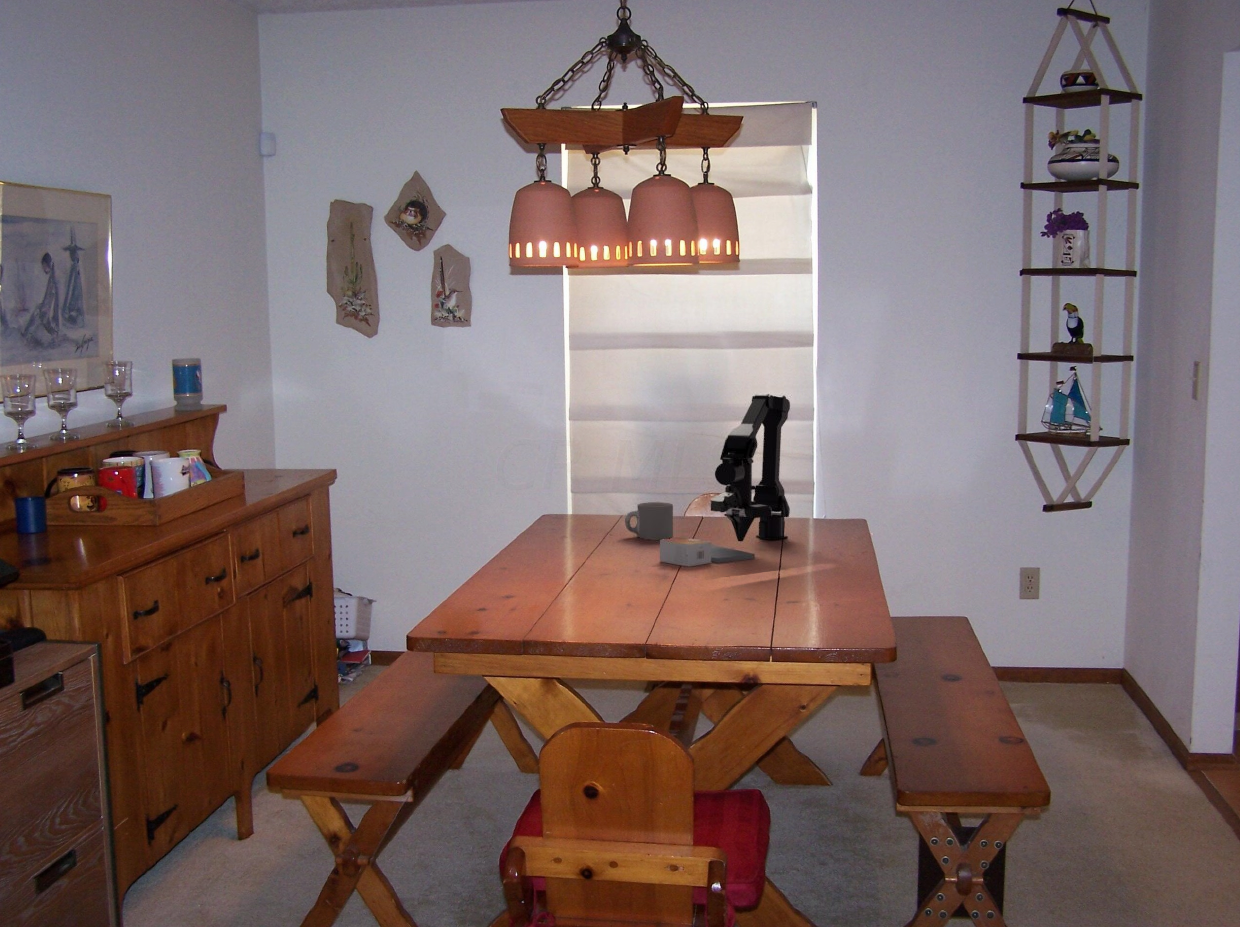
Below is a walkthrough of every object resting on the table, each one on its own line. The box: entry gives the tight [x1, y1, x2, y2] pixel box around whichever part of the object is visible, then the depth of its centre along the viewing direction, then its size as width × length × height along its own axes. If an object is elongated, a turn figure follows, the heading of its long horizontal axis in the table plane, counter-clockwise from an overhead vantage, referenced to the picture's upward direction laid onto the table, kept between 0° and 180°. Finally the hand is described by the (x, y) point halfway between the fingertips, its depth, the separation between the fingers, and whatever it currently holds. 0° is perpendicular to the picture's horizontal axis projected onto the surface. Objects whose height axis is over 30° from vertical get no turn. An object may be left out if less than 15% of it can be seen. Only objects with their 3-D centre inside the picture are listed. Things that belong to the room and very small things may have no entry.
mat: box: [711, 544, 756, 564], centre depth 298 cm, size 12×18×1 cm, turn 33°
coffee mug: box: [624, 501, 674, 541], centre depth 325 cm, size 13×10×10 cm
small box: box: [659, 536, 712, 567], centre depth 289 cm, size 8×6×10 cm
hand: (740, 541), depth 303 cm, fingers closed
